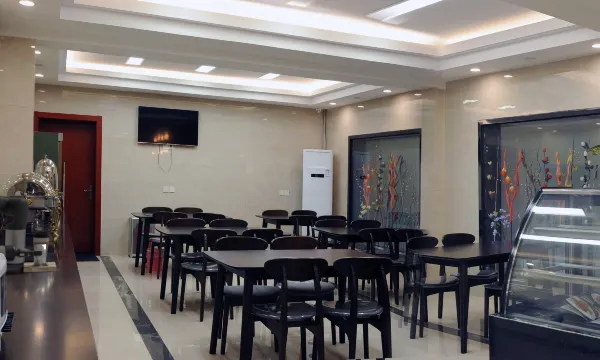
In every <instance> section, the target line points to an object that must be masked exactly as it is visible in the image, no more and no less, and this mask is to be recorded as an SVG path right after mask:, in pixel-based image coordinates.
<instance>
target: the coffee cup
mask: <svg viewBox="0 0 600 360" xmlns="http://www.w3.org/2000/svg"><path fill="white" fill-rule="evenodd" d="M32 238H33V241H32V244H33V245H32V246H33V247H32V248H34V246H35V245H36V244H46V247H47V252H48V251H49V249H48V248H49V244H50V243H49V240H50V239H49V238H50V232H49V231H38V232H37V231H36V232H33V235H32Z"/></svg>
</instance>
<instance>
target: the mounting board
mask: <svg viewBox="0 0 600 360" xmlns="http://www.w3.org/2000/svg"><path fill="white" fill-rule="evenodd" d="M56 271H57V264H56V262H55V261H50V262H49V261H48V262H47V261H46V266H38V267H34V262H24V263H23V273H41V272H56Z"/></svg>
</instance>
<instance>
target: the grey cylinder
mask: <svg viewBox="0 0 600 360" xmlns="http://www.w3.org/2000/svg"><path fill="white" fill-rule="evenodd" d="M33 249H34V251H42V255H41V256H33V263H34V267H38V266H46V262H47V259H48V258H47V257H48V251H47V247H46V244H36V245H35V246H34V247H33Z"/></svg>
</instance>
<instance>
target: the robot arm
mask: <svg viewBox="0 0 600 360" xmlns="http://www.w3.org/2000/svg"><path fill="white" fill-rule="evenodd" d="M0 213H2V214H4V215H5V216H8V217H14V218H13V220H12V221H11V222H9V223H6V225H5V240H4V241H5V245H0V253H3V254H4V255H5V257H6V259H7V263H6V264H11V265H12V264H13V265H14V264H15V265H17V264H24V263H25V258H34V256H41V255H42V251H34V248H26V231H27V230H26V228H27V224H28V219H29V202H28V200H27V199H25V198H15V197H14V198H13V197H11V198H9V197H5V196H1V195H0Z"/></svg>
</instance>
